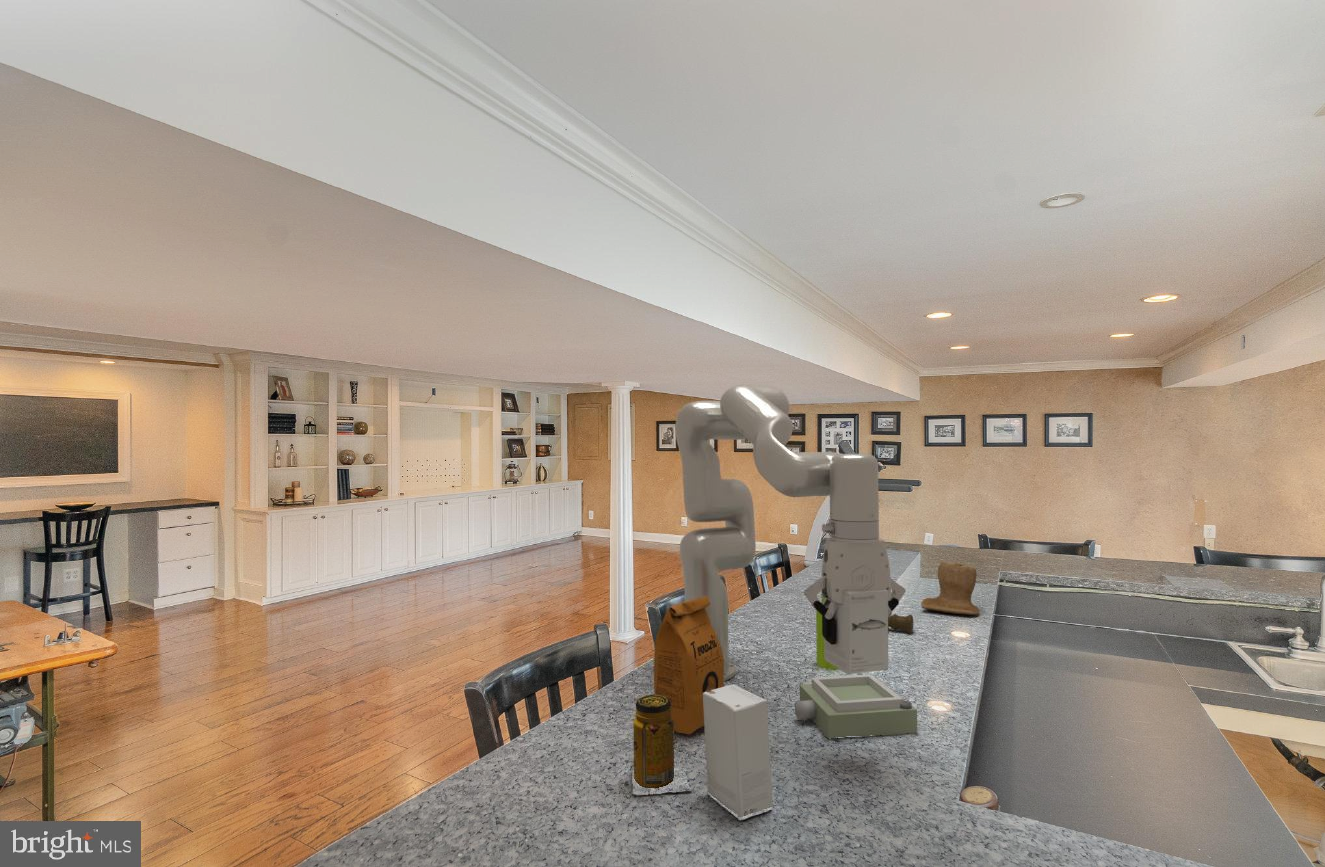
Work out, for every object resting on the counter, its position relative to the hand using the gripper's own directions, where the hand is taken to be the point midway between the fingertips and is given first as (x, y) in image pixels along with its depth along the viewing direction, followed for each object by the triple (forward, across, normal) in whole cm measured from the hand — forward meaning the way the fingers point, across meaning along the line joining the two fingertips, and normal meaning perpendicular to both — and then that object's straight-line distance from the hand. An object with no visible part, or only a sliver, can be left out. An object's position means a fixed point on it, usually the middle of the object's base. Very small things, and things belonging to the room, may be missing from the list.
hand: (855, 640), depth 99 cm
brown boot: (+19, +66, +79) cm, 105 cm away
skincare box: (+19, -22, -10) cm, 30 cm away
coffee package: (+19, -24, +16) cm, 35 cm away
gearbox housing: (+19, +4, +13) cm, 23 cm away
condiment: (+19, -32, -3) cm, 37 cm away
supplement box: (+4, 0, 0) cm, 4 cm away
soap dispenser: (+19, +13, +40) cm, 47 cm away
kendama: (+19, +36, +67) cm, 78 cm away
